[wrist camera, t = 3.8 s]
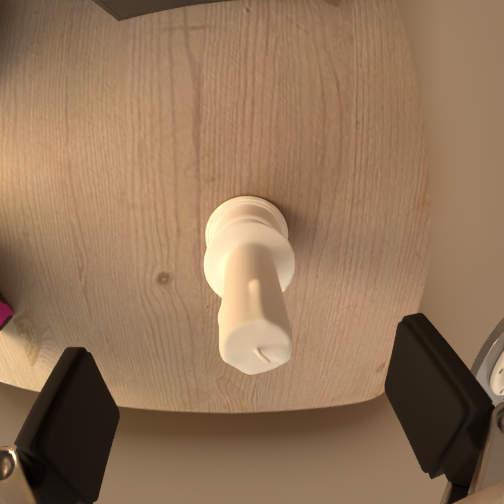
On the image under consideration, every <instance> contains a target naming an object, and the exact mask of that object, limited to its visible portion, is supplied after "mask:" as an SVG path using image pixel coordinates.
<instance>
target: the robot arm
mask: <svg viewBox="0 0 504 504" xmlns="http://www.w3.org/2000/svg"><path fill="white" fill-rule="evenodd" d="M490 388H491V390H492V391H493V392H494V393H495V394H496V395H504V351H503V352H502V354H501V355H500V357H499V359H498V360H497V362H496V364H495V366H494V368H493V371H492V374H491V377H490ZM385 392H386V395H387V397H388V399H389V401H390V403H391V405H392V407H393V409H394V411H395V413H396V415H397V417H398V419H399V421H400V423H401V425H402V427H403V429H404V432H405V434H406V436H407V438H408V440H409V442H410V445H411V447H412V449H413V451H414V453H415V455H416V458H417V460H418V462H419V464H420V466H421V469H422V470H423V471H424V472H425V473H429V476H430V478H431V479H433V478H435V477H438V476H440V475H442V474H445V475H446V478H447V479H448V483H447V486H446V488H445V491H444V495H443V497H442V500H441V502H440V504H504V402H502V403H500V404H499V405H497V406H496V408H495V406H494V405H493V401H492V399H491V398H490V397H489V395H488V394H487V393H486V391H485V390H484V388H483V387H482V386H481V384H480V383H479V382H478V381H477V379H476V378H475V377H474V375H473V374H472V373H471V371H470V370H469V369H468V368H467V366H466V365H465V364H464V362H463V361H462V360H461V359H460V358H459V356H458V355H457V354H456V352H455V351H454V350H453V349H452V348H451V346H450V345H449V344H448V343H447V341H446V340H445V339H444V338H443V337H442V335H441V334H440V333H439V332H438V331H437V329H436V328H435V327H434V326H433V325H432V323H431V322H430V321H429V320H428V319H427V318H426V316H425V315H424V314H422V313H417V314H412V315H407V316H404V317H403V319H402V322H399V323H398V326H397V331H396V336H395V341H394V346H393V350H392V355H391V359H390V364H389V368H388V372H387V376H386V380H385ZM119 415H120V414H119V409H118V407H117V405H116V403H115V401H114V399H113V397H112V396H111V394H110V392H109V390H108V388H107V386H106V384H105V382H104V380H103V378H102V376H101V373H100V371H99V369H98V367H97V365H96V363H95V361H94V358H93V356H92V354H91V353H90V352H87V350H86V349H85V348H83V347H67V348H66V349H65V350H64V352H63V354H62V355H61V357H60V359H59V360H58V362H57V364H56V365H55V367H54V369H53V371H52V372H51V374H50V376H49V378H48V379H47V381H46V383H45V385H44V387H43V388H42V390H41V392H40V394H39V396H38V398H37V399H36V401H35V403H34V405H33V407H32V409H31V411H30V413H29V415H28V416H27V419H26V420H25V423H24V425H23V427H22V429H21V430H20V433H19V434H18V437H17V439H16V441H15V443H14V444H15V445H16V446H17V449H16V451H14V450H13V449H12V448H10V447H8V446H0V504H93V502H95V501H97V499H98V497H99V492H100V488H101V484H102V480H103V476H104V472H105V468H106V465H107V460H108V457H109V453H110V449H111V446H112V442H113V439H114V435H115V432H116V428H117V425H118V421H119V417H120V416H119Z"/></svg>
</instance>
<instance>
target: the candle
mask: <svg viewBox="0 0 504 504" xmlns="http://www.w3.org/2000/svg"><path fill="white" fill-rule="evenodd" d="M205 239H206V245H207V250H206V253H205V257H204V272H205V276H206V279H207V281H208V283H209V285H210V286H211V288H212V289H213V290H214V291H215V292H216V293H217V294H218V295H219V296H220V297H222V304H221V307H220V310H219V313H218V323H219V351H220V355H221V357H222V359H223V360H224V361H225V362H226V363H228V364H229V365H231V366H233V367H235V368H237V369H239V370H240V371H242V372H244V373H246V374H249V375H253V374H258V373H261V372H265V371H269V370H271V369H274V368H276V367H278V366H280V365H282V364H284V363H286V362H287V361H289V360H290V358H291V356H292V351H293V349H292V333H291V327H290V321H289V317H288V313H287V309H286V305H285V301H284V297H283V293H282V292H283V291H284V290H285V289H286V288H287V287H288V285H289V284H290V282H291V280H292V278H293V275H294V271H295V256H294V252H293V249H292V247H291V245H290V243H289V242H288V228H287V224H286V221H285V219H284V217H283V215H282V214H281V212H280V211H279V210H278V209H277V208H276V207H275V206H274V205H273V204H271V203H270V202H268V201H266V200H264V199H262V198H258V197H254V196H241V197H236V198H233V199H230V200H228V201H226V202H224V203H223V204H221V205H220V206H219V207H218V208H217V209H216V210H215V211H214V212H213V214H212V215H211V217H210V218H209V221H208V223H207V226H206V232H205Z"/></svg>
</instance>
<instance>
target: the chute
mask: <svg viewBox="0 0 504 504" xmlns="http://www.w3.org/2000/svg"><path fill="white" fill-rule="evenodd" d="M93 1H94V2H95V3H96V4H98V5H99V6H100V7H102V8H103V9H104V10H105V11H107V12H108V13H109V14H110V15H112V16H113V17H114V18H115V19H117V20H118V21H120V20H124V19H128V18H132V17H135V16H139V15H144V14H148V13H152V12H157V11H162V10H167V9H172V8H178V7H183V6H190V5H196V4H203V3H211V2H220V1H230V0H93Z"/></svg>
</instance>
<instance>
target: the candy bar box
mask: <svg viewBox="0 0 504 504" xmlns="http://www.w3.org/2000/svg"><path fill="white" fill-rule="evenodd" d="M13 316H14V313H13V311H12V310H11V308H10V307H9V306H8V304H7V303H6V301H5V300H4V299H3V297H2V296H1V294H0V331H1V330H2V329H3V327H4V326H5V325H6V324H7V323H8V322H9V321H10V320H11V318H12V317H13Z"/></svg>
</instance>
